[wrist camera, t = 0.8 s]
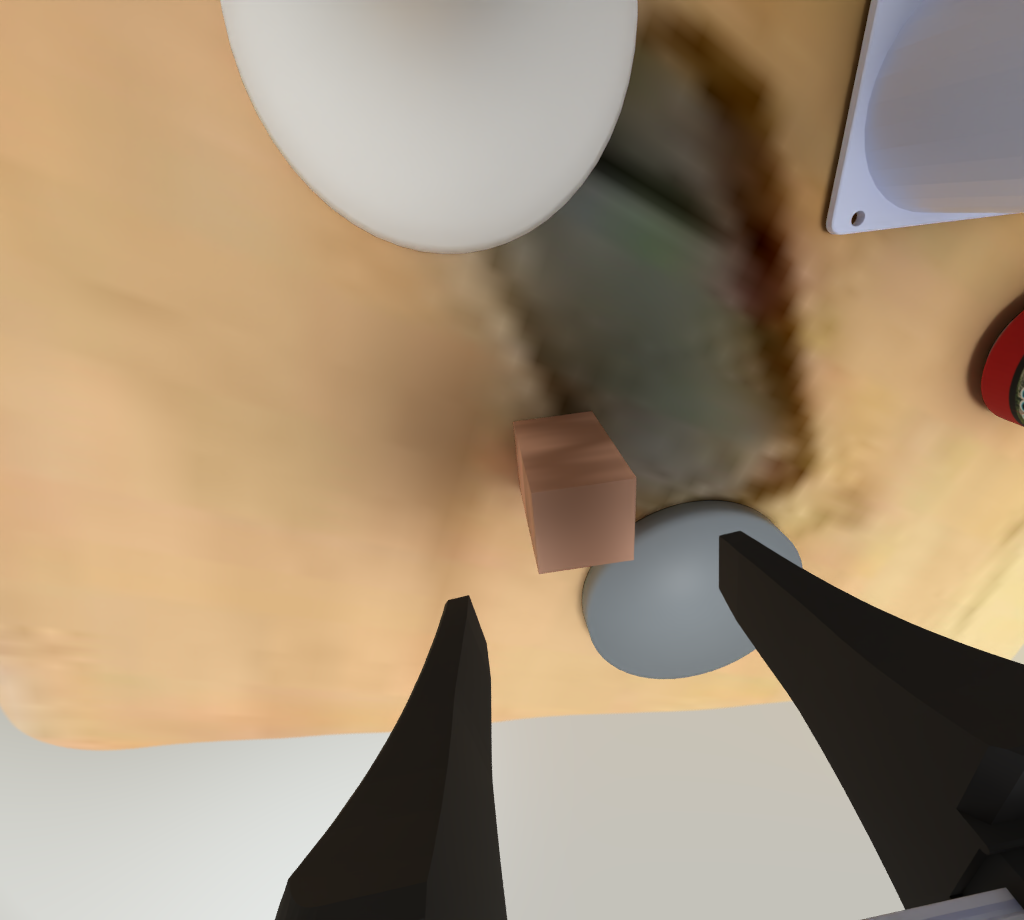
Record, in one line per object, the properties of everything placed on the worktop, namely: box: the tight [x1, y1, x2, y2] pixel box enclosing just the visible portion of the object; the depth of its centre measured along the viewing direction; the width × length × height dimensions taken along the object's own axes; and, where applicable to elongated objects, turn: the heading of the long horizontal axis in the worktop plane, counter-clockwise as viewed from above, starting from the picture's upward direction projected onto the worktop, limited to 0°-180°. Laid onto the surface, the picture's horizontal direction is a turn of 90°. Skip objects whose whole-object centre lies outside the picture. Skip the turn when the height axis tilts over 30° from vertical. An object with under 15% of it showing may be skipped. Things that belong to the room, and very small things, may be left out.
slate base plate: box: [582, 500, 803, 679], centre depth 26 cm, size 12×12×2 cm
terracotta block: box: [513, 411, 637, 574], centre depth 19 cm, size 4×4×6 cm
